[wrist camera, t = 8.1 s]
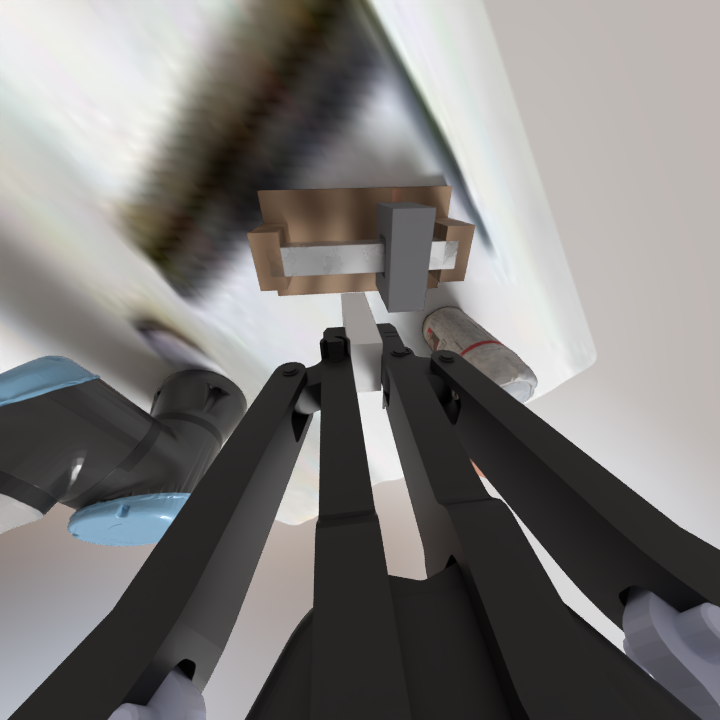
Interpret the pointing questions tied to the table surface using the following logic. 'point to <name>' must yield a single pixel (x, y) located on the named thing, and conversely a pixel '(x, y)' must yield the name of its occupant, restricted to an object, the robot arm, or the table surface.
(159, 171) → the table surface
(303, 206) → the pipe stand
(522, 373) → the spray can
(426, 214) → the tall grey notched block
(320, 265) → the light grey long bar
